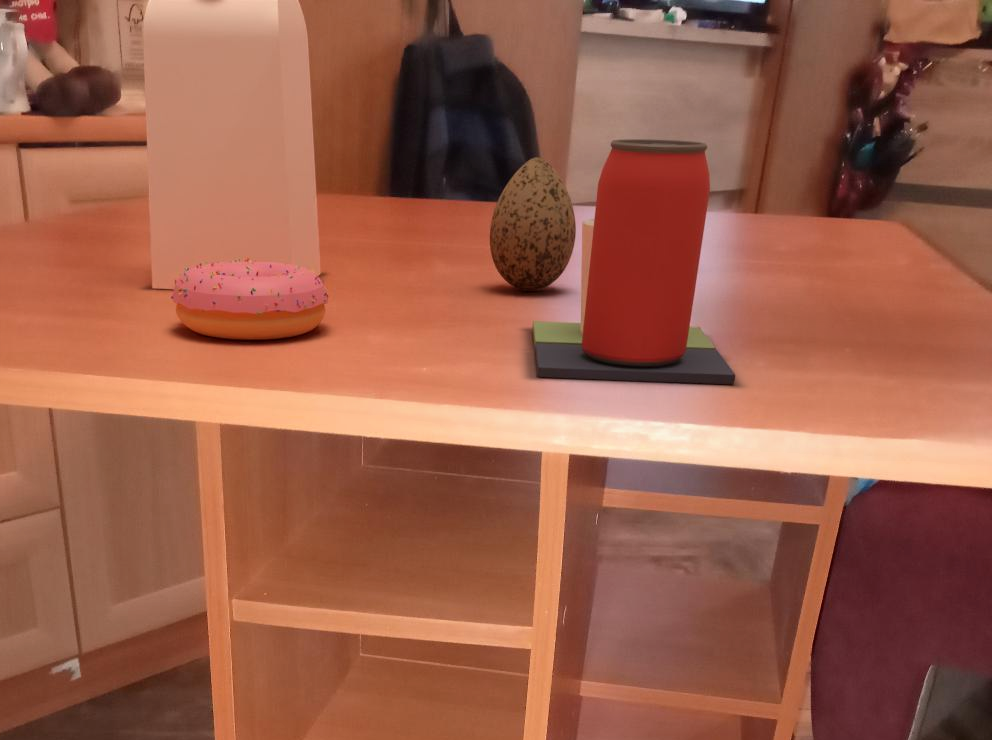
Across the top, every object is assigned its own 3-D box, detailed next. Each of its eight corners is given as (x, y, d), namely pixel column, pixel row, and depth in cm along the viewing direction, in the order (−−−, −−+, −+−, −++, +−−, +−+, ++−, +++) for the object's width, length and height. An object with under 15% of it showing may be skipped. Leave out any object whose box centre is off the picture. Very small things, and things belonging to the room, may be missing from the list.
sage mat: (698, 335, 83) (700, 327, 83) (713, 356, 77) (715, 347, 77) (532, 329, 84) (533, 321, 83) (534, 350, 78) (535, 340, 77)
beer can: (633, 374, 69) (662, 146, 63) (558, 354, 74) (578, 139, 67) (706, 361, 73) (740, 144, 66) (630, 343, 77) (655, 137, 71)
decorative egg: (564, 299, 95) (576, 162, 89) (479, 294, 96) (486, 158, 91) (575, 286, 101) (587, 156, 95) (494, 281, 102) (502, 153, 97)
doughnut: (232, 309, 88) (229, 250, 86) (357, 325, 84) (357, 263, 82) (142, 333, 80) (136, 267, 78) (274, 351, 76) (272, 283, 73)
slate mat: (715, 359, 76) (717, 350, 76) (734, 384, 70) (735, 374, 70) (534, 352, 77) (535, 343, 77) (537, 377, 71) (538, 367, 71)
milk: (320, 273, 104) (316, -88, 90) (293, 294, 94) (283, -106, 80) (192, 268, 105) (168, -89, 91) (152, 288, 96) (118, -108, 82)
